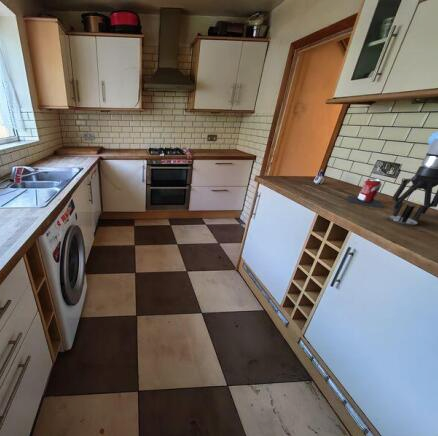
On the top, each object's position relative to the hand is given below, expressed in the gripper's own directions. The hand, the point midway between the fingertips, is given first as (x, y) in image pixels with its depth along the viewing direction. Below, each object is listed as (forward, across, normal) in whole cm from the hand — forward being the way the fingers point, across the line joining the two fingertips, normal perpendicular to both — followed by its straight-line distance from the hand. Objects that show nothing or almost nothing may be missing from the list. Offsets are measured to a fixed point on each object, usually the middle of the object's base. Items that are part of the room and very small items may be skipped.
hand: (404, 217), depth 103 cm
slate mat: (+2, +11, -22) cm, 25 cm away
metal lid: (+2, 0, 0) cm, 2 cm away
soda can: (+2, +11, -22) cm, 25 cm away
